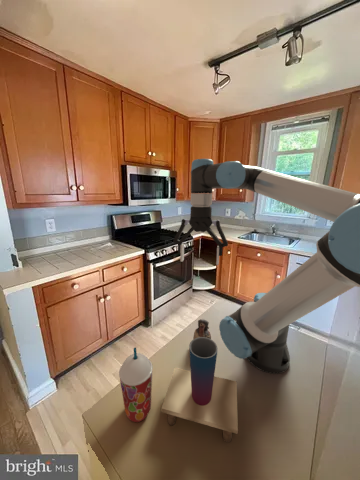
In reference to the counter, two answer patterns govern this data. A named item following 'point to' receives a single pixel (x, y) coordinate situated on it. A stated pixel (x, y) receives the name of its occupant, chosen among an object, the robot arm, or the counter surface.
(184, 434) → the counter surface
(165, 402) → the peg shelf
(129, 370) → the smoothie
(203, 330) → the figurine
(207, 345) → the cup
